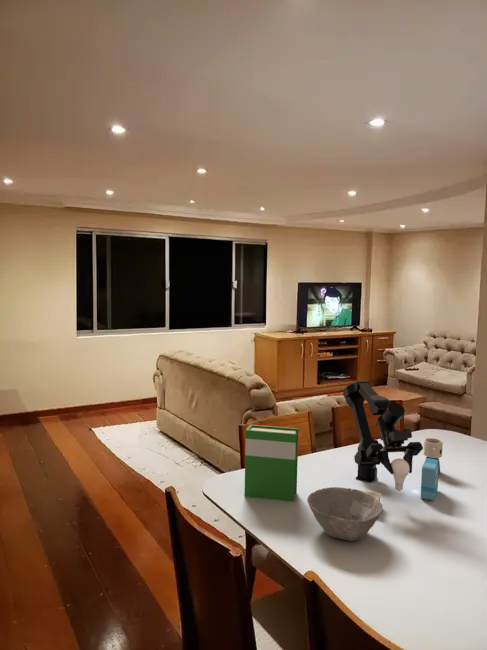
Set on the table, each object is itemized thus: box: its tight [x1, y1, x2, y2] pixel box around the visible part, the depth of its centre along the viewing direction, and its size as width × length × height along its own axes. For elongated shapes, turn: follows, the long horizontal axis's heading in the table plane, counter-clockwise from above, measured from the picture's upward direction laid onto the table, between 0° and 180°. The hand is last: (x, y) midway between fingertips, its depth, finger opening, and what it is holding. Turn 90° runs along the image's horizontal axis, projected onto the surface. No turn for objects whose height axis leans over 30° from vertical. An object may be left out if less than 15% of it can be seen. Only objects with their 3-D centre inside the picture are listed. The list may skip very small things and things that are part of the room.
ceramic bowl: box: [306, 486, 384, 542], centre depth 156 cm, size 22×23×10 cm
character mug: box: [423, 437, 444, 473], centre depth 208 cm, size 11×7×13 cm, turn 165°
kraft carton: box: [359, 489, 381, 503], centre depth 173 cm, size 7×7×5 cm
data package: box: [420, 457, 440, 502], centre depth 186 cm, size 12×4×12 cm, turn 153°
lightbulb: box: [390, 457, 410, 492], centre depth 173 cm, size 6×6×11 cm
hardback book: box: [243, 424, 299, 503], centre depth 183 cm, size 18×7×24 cm, turn 77°
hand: (401, 473), depth 172 cm, fingers closed on lightbulb, 6 cm apart
